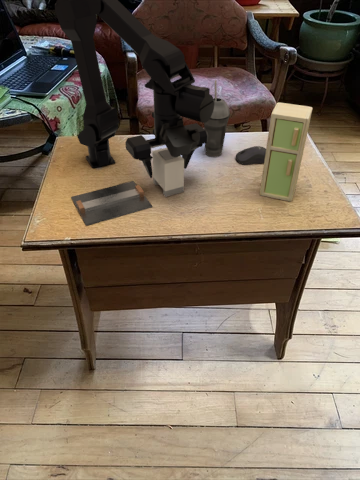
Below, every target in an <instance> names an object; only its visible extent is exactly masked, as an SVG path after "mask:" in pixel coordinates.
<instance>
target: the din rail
mask: <svg viewBox="0 0 360 480" xmlns="http://www.w3.org/2000/svg"><path fill="white" fill-rule="evenodd" d="M70 198H71V200H72V202H73V204H74V206H75V208H76V210H77V211H78V213H79V215H80V217H81V219H82V221H83V223H84V225H85V227H87V226H91V225H95V224H99V223H102V222H105V221H108V220H109V221H110V220H112V219H116V218H119V217H123V216H127V215H130V214H134V213H137V212H140V211H143V210H147V209H151V208H153V204H152V203H151V201H150V200H148V198H147V196H145V191H144V190H143V188H142V187H141V185H139V184H136V183H135V181H134V180H131V181H128V182H127V181H126V182H123V183H118V184H116V185H115V184H114V185H113V186H112V185H111V186H108V187H104V188H100V189H96V190H93V191H88V192H85V193H81V194H77V195H72V196H70Z"/></svg>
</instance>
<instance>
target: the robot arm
mask: <svg viewBox="0 0 360 480" xmlns="http://www.w3.org/2000/svg"><path fill="white" fill-rule="evenodd" d="M54 11H55V15H56V18H57V21H58V23H59V26H60V29H61V31H62V32H63V33H64V34H65V35H66V37H67V38H68V39H69V40H70V43H71V47H72V51H73V54H74V58H75V62H76V67H77V72H78V76H79V79H80V80H79V81H80V85H81V88H82V93H83V97H84V100H85V101H84V103H85V108H84V112H83V115H82V119H83V120H82V122H83V129H82V130H81V131H80V132H79V134H78V135H77V139H78V141H79V144H80V145H83V146H86V147H87V151H88V155H85V159H86V160H87V162H88V163H89V165H90V166H91V168H92V169H96V168H100V167H105V166H108V165H112V164H116V160H115V159H114V157H113V156H112V154H111V147H110V140H109V139H111V138H113V137H115V135H116V132H117V130H118V129H119V124H120V120H119V117H118V111H117V108H116V107H112V106H111V105H110V104H109V102H107V99H106V94H105V89H104V84H103V80H102V73H101V70H100V69H101V68H100V66H99V65H100V64H99V60H98V55H97V49H96V46H95V40H94V36H95V32H96V27H97V24H98V22H97V21H98V20H97V16H98V17H99V18H100V19H101V20H102V21H103V22H104V23H105V24H106V25H107V26H108V27H109V28H110V29H111V30H112V31H113V32H114V33H116V34H117V36H119V37H120V38H121V39H122V40H123V41H124V42H125V44H127V45H128V46H129V48H130V49H132V50H133V51H134V52H135V54H136V55H137V56H138V58H139V60H140V64H141V67H142V69H144V71H145V72H146V73H147V75H148V76H149V78H150V79H149V80H148V81H147V82H146V83H145V84H144V88H145V89H149V90H153V91H152V92H153V111H152V112H151V116H152V117H151V118H153V120H154V122H153V123H154V128H153V129H152V135H153V136H154V138H150V139H146V138H145V136H143V135H141V134H140V135H136V136H131V137H130V136H129V137H127V139H126V141H125V142H124V143H125V144H124V145H125V150H126V151H127V152H128V153H129V154H130V156H131V157H132V158H133V159H134V160H139V161H141V162H142V165H143V166H144V168H145V171H146V172H147V175H148V177H149V178H150V179H153V164H152V160H153V158H152V155H151V154H152V149H154V148H158V147H159V148H160V147H163V146H166V147H165V148H167V149H168V150H169V152H170V155H171V156H172V157H178V156H181V157H182V158H183V159H184V170H186V169H187V168H188V166H189V164H190V161H191V159H192V157H193V154H195V153H194V152H195V151H196V150H197V149H199V148H201V147H202V146H204V145H205V143H207V142H208V133H207V131H206V130H204V128H203V127H202V126H201V125H199V124H198V123H203V124H204V123H206V122H207V121H208V120H209V119H210V118H211V116H212V113H213V110H214V100H213V99H214V97H213V95H212V94H211V93H210V91H211V89H210V88H209V87H206V86H200V85H199V86H198V85H194V83H196V80H195V78H194V76H193V73H192V72H191V70H190V68H189V66H188V64H187V63H186V60H185V55H184V53H183V52H182V50H181V49H180V48H179V47H177V46H176V45H174V44H173V43H171V42H170V41H168V40H166V39H164V38H160V37H157V36H156V35H155V34H153V33H152V32H151V30H149V29H148V28H147V27H146V26H145V25H144V24H143V23H141V21H140V20H139V19H138V18H137V17H136V16H135V15H134V14H133V13H132V12H131V11H129V10H128V8H126V7H125V6H124V5H123V4H122V3H121V2H120V1H119V0H56V2H55V4H54ZM178 76H180V78H177V77H178ZM175 78H177V79H176V80H174V81H171V80H172V79H175ZM183 118H185V119H189V120H193V121H196V122H198V123H196V122H195V123H191V124H187V125H184V119H183Z"/></svg>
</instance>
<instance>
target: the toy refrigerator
mask: <svg viewBox="0 0 360 480" xmlns="http://www.w3.org/2000/svg"><path fill="white" fill-rule="evenodd" d="M312 113H313V107H312V106H308V105H299V104H293V103H285V102H277V103H276V104H275V106H274V108H273V109H272V112H271V115H270V121H269V126H268V127H269V128H268V135H267V142H266V147H265V148H266V154H265V160H264V163H263V169H262V173H261V174H262V175H261V181H260V182H261V183H260V189H259V196H262V197H267V198H271V199H277V200H282V201H286V202H292V201H293V198H294V195H295V191H296V188H297V183H298V179H299V175H300V169H301V164H302V160H303V156H304V150H305V147H306V141H307V137H308V131H309V127H310V122H311V117H312Z"/></svg>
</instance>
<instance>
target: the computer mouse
mask: <svg viewBox="0 0 360 480" xmlns="http://www.w3.org/2000/svg"><path fill="white" fill-rule="evenodd" d="M265 154H266V147H264V146H259V145H255V146H251V147H248V148H245V149H242V150H240V151H238V152H237V153H236V154H235V159H236V160H237V162H238V163H239V164H241V165H244V166H245V165H248V166H249V165H255V164H264V160H265Z"/></svg>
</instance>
